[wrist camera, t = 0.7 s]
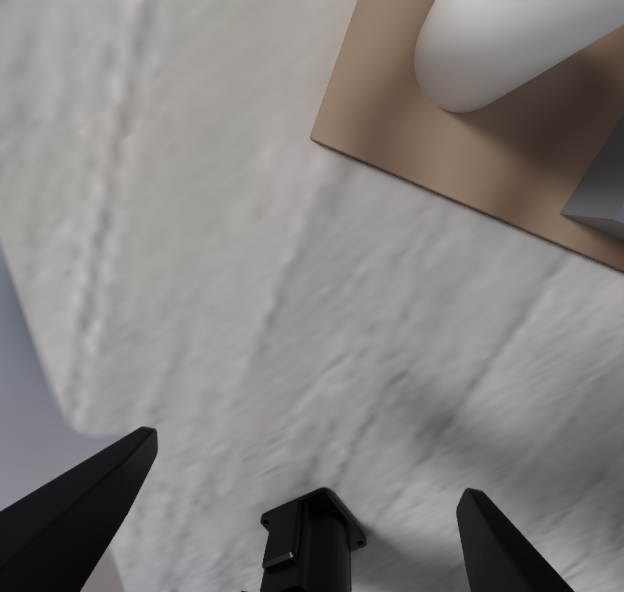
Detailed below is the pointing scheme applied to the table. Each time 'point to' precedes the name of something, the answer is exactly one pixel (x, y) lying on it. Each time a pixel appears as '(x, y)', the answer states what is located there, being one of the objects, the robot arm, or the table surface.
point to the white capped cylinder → (502, 45)
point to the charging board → (477, 126)
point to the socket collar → (602, 189)
